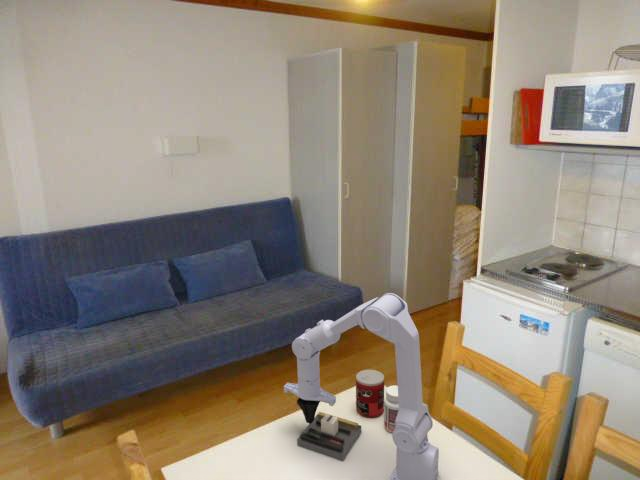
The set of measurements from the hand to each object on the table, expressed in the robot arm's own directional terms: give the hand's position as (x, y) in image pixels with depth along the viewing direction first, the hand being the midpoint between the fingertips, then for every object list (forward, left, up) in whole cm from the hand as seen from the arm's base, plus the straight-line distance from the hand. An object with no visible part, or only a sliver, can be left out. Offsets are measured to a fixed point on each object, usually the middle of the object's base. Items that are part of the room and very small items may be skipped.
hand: (310, 421), depth 126 cm
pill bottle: (-20, -12, -4) cm, 23 cm away
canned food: (-11, -16, -4) cm, 20 cm away
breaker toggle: (-6, 0, -2) cm, 6 cm away
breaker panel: (-6, 0, -4) cm, 7 cm away
